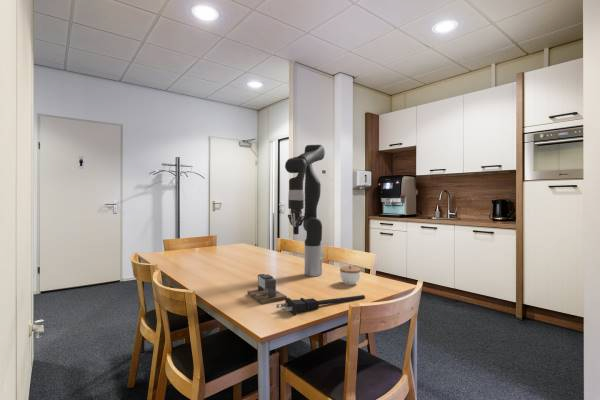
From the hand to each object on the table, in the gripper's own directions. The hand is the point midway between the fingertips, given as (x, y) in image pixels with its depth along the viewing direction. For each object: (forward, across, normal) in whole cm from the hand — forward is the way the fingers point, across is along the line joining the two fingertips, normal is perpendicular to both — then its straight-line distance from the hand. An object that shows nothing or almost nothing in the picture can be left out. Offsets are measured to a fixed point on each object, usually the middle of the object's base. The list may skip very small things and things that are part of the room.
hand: (296, 234), depth 157 cm
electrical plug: (+28, +27, -2) cm, 38 cm away
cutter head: (+25, +4, -18) cm, 31 cm away
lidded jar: (+27, +7, +29) cm, 40 cm away
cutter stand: (+27, +4, -18) cm, 33 cm away
